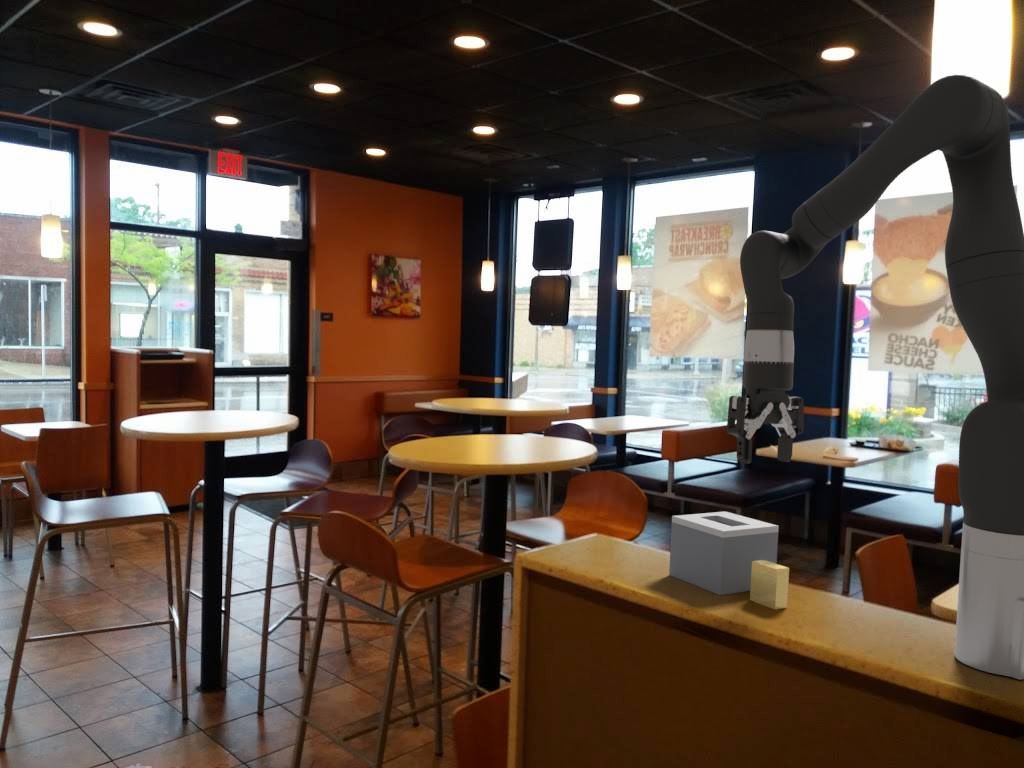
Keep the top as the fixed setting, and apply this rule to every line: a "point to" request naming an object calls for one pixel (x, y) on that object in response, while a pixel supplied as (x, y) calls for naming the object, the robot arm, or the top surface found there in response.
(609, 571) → the top surface
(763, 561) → the tan rectangular block
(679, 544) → the coin box
